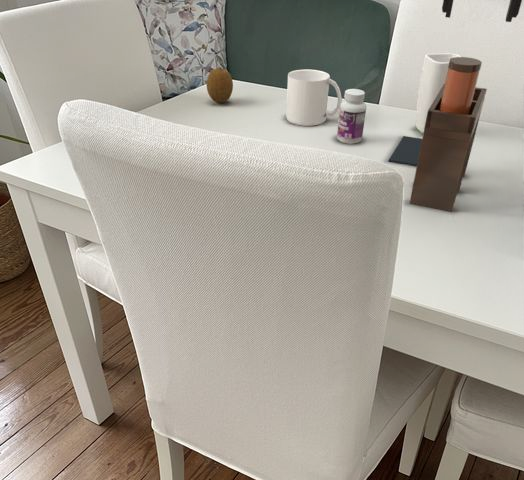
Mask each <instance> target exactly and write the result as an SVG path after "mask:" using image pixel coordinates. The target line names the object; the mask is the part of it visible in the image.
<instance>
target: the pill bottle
mask: <svg viewBox="0 0 524 480" xmlns="http://www.w3.org/2000/svg"><path fill="white" fill-rule="evenodd" d="M365 97H366V91H364V90H363V89H358V88H348V89H346V90H345V91H344V100H342V103H341V105H340V109H339V111H338V122H337V133H336V138H337V140H338V141H339V142H341V143H343V144H348V145H352V144H358V143H360V142H362V140H363V135H364V127H365V120H366V114H367V113H366V112H367V104H366V103H365V102H364V101H365Z"/></svg>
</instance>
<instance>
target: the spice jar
mask: <svg viewBox="0 0 524 480" xmlns="http://www.w3.org/2000/svg"><path fill="white" fill-rule="evenodd" d="M482 65H483V62H482V61H481V60H479V59H477V58H475V57H466V56H461V57H455V58H451V59H450V60H449V65H448V71H447V76H446V81H445V86H444V90H443V95H442V100H441V105H440V109H439V111H445V112H452V113H459V114H466V115H469V112H470V108H471V104H472V100H473V96H474V91H475V87H476V86H477V83H478V79H479V74H480V71H481V68H482ZM476 88H477V87H476Z"/></svg>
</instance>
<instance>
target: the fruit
mask: <svg viewBox="0 0 524 480" xmlns="http://www.w3.org/2000/svg"><path fill="white" fill-rule="evenodd" d="M231 75H232V74H231V73H230V72H229V71H228V70H227V69H225V68H222V67H221V66H218V67H216V68H214V69H211V71H210V72H209V73H208V75H207V79H206V90H207V93H208V96H209V98H210V99H211V100H212V101H213V102H215V103H216V104H219V105H221V104H224V103H225V102H227V101H228V100H230V98H231V96H232V93H233V90H234V89H233V88H234V81H233V78H232V76H231Z"/></svg>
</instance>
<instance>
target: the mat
mask: <svg viewBox="0 0 524 480" xmlns="http://www.w3.org/2000/svg"><path fill="white" fill-rule="evenodd" d="M421 143H422V138H419V137H412V136H406V135H403V136H402V138H401V139H400V141H399V142H398V144H397V146H396V147H395V149H394V151H392V153H391V155H390V157H389V158H388V163H394V164H400V165H405V166H406V165H407V166H412V167H417V163H418V158H419V153H420V148H421Z"/></svg>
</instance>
